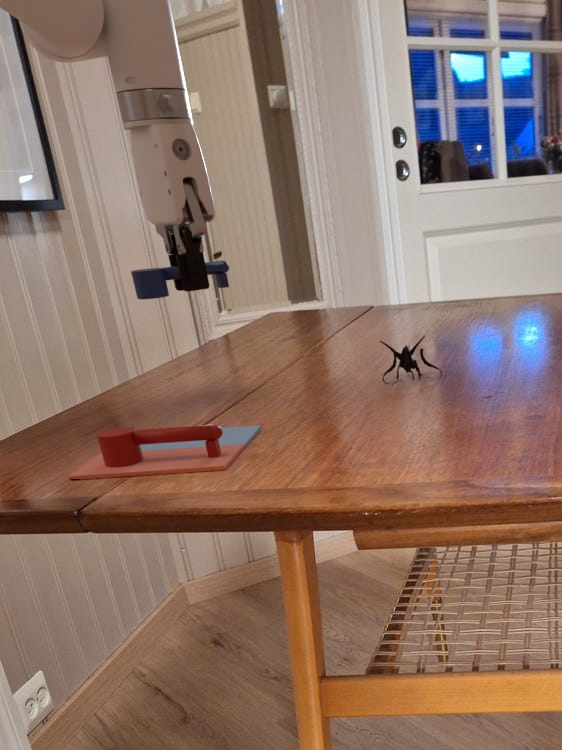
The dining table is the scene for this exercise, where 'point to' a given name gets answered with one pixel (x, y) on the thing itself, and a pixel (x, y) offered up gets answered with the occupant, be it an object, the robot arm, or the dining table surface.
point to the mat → (175, 457)
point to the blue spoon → (154, 279)
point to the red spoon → (152, 441)
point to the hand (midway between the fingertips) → (192, 288)
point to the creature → (407, 361)
